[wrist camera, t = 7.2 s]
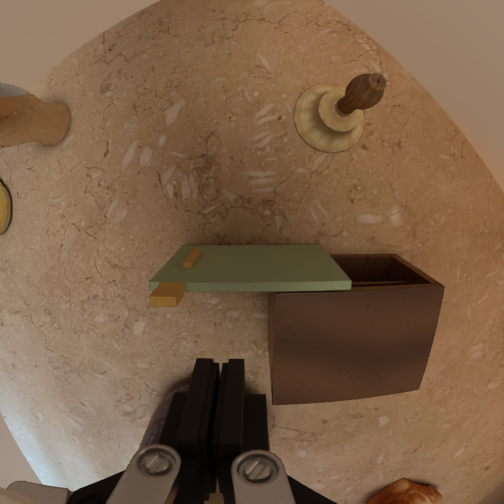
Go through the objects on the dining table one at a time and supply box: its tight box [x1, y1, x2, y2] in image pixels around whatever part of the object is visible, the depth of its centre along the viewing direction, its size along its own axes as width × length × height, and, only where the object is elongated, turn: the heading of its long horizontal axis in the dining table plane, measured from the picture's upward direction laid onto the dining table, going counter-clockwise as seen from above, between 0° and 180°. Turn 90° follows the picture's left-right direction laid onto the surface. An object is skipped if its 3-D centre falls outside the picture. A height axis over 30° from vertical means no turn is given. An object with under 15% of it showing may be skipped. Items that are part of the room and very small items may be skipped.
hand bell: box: [294, 73, 386, 153], centre depth 25 cm, size 8×8×16 cm
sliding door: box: [149, 245, 352, 307], centre depth 29 cm, size 1×16×16 cm, turn 91°
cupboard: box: [268, 254, 445, 405], centre depth 32 cm, size 12×16×12 cm
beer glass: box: [0, 83, 70, 148], centre depth 26 cm, size 7×7×15 cm
